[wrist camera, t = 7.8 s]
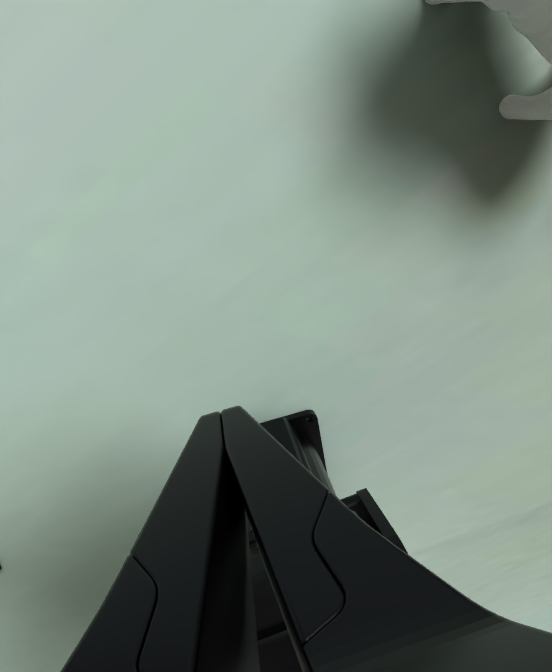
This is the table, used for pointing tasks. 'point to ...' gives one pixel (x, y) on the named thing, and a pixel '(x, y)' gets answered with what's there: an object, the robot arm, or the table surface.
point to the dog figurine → (547, 37)
